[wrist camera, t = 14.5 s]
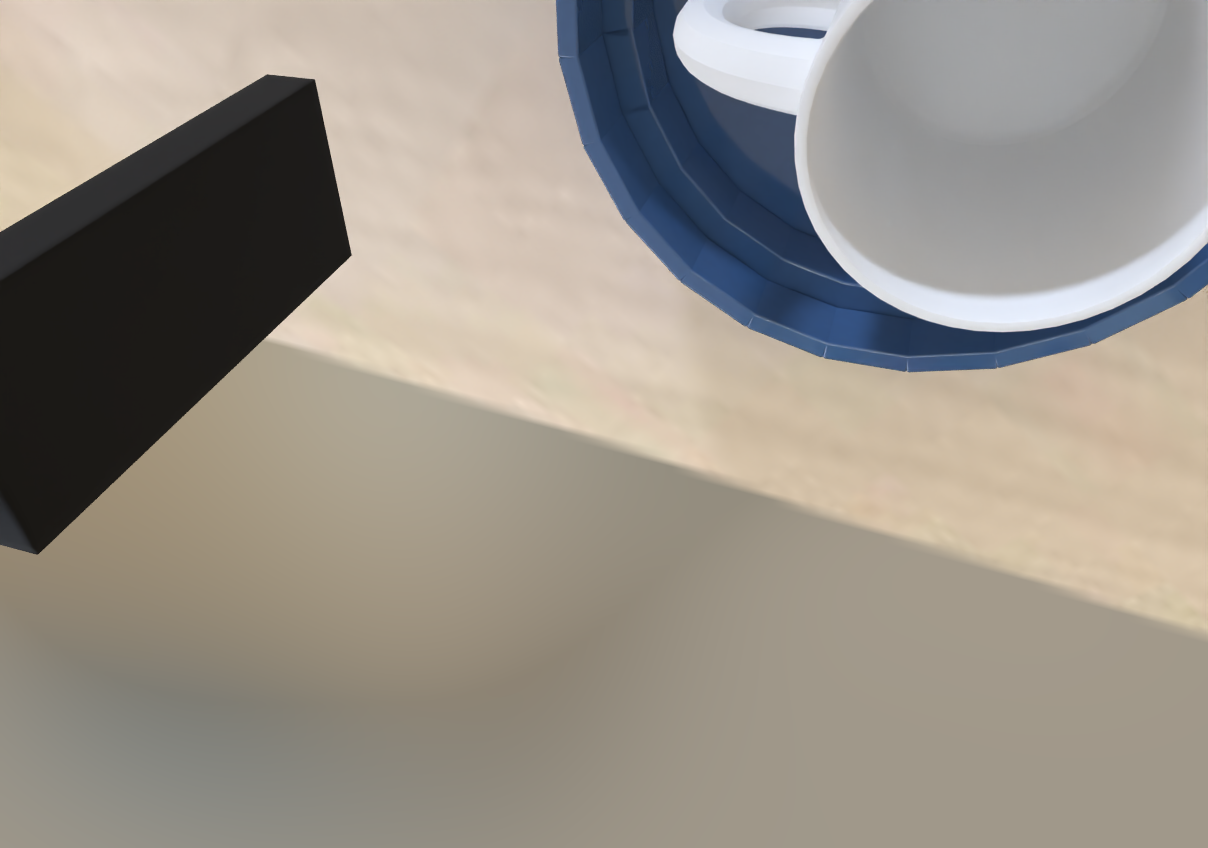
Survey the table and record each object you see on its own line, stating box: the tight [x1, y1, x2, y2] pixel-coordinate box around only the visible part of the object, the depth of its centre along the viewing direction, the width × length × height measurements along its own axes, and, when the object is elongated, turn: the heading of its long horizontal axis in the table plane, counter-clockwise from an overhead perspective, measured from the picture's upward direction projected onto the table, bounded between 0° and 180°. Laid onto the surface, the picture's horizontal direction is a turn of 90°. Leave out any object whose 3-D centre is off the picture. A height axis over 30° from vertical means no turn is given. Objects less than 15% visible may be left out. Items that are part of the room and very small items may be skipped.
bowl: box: [556, 0, 1208, 372], centre depth 24 cm, size 19×19×5 cm
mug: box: [673, 0, 1208, 332], centre depth 22 cm, size 12×8×10 cm
